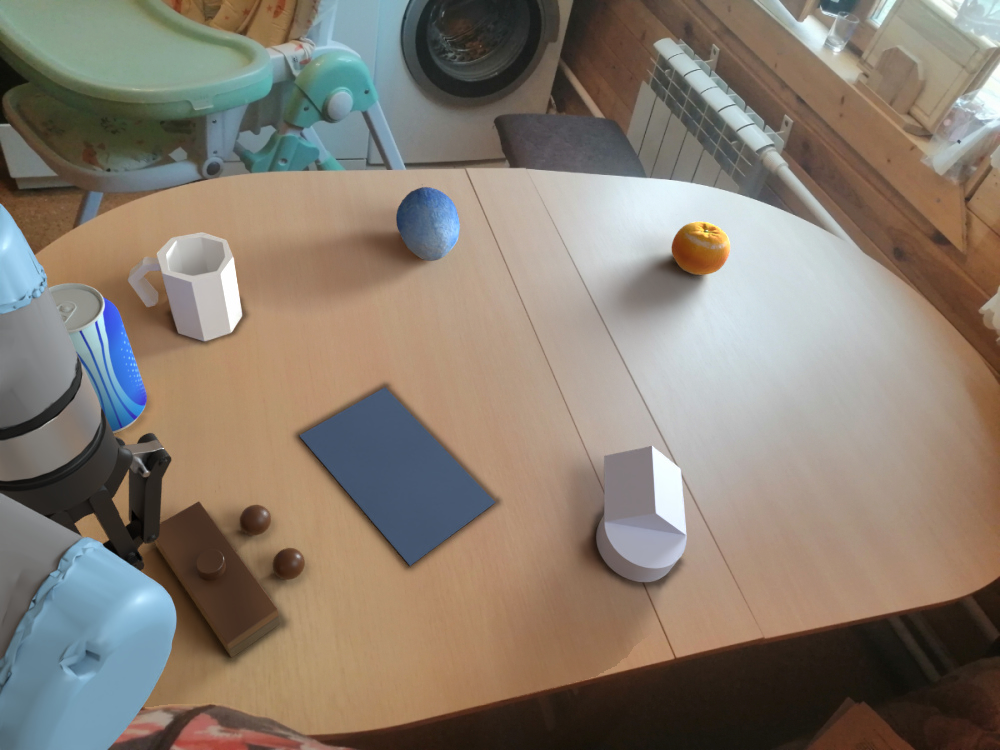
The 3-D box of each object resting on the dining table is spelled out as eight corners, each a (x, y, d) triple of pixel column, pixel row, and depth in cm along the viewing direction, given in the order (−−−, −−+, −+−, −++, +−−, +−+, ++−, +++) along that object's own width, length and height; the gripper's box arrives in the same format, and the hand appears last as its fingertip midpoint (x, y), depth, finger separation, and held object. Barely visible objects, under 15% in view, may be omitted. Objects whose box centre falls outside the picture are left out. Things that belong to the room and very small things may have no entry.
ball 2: (284, 591, 70) (282, 577, 68) (267, 568, 71) (265, 554, 69) (311, 572, 71) (310, 559, 69) (294, 550, 73) (292, 536, 70)
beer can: (51, 403, 79) (-3, 297, 67) (127, 369, 83) (90, 265, 71) (85, 454, 76) (35, 354, 64) (163, 416, 80) (130, 315, 68)
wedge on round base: (596, 471, 85) (596, 574, 76) (612, 438, 80) (613, 545, 71) (670, 484, 85) (678, 588, 77) (691, 452, 80) (702, 560, 72)
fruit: (708, 221, 115) (717, 202, 107) (734, 267, 113) (745, 251, 105) (660, 244, 115) (665, 227, 107) (685, 291, 114) (692, 277, 106)
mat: (409, 566, 74) (409, 565, 73) (299, 436, 81) (299, 435, 81) (495, 502, 80) (495, 502, 80) (385, 387, 88) (385, 387, 88)
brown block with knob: (231, 658, 65) (224, 638, 61) (156, 546, 71) (145, 521, 67) (280, 623, 68) (276, 602, 64) (204, 518, 73) (196, 492, 69)
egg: (440, 151, 104) (453, 220, 95) (458, 195, 111) (472, 264, 102) (383, 169, 105) (391, 240, 96) (404, 212, 112) (413, 282, 103)
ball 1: (251, 546, 72) (248, 532, 70) (235, 524, 73) (232, 510, 71) (277, 529, 74) (275, 515, 72) (262, 508, 75) (259, 494, 73)
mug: (245, 292, 94) (236, 233, 86) (238, 342, 88) (228, 283, 81) (146, 290, 91) (128, 228, 84) (132, 340, 86) (112, 279, 79)
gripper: (114, 341, 47) (180, 516, 65) (-123, 442, 40) (25, 606, 58) (171, 417, 44) (224, 578, 62) (-73, 540, 37) (66, 681, 55)
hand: (128, 592), depth 60 cm, fingers closed
